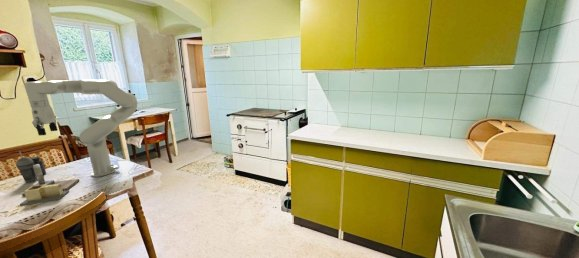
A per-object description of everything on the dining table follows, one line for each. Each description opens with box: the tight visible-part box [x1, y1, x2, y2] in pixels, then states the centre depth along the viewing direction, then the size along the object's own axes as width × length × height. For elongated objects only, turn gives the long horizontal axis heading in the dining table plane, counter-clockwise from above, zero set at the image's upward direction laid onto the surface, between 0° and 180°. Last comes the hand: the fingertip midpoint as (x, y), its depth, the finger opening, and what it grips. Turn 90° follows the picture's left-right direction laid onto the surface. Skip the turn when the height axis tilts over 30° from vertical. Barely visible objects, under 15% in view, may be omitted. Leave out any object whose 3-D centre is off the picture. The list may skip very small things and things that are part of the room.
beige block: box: [23, 184, 64, 202], centre depth 122 cm, size 13×6×6 cm, turn 106°
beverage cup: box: [15, 150, 37, 184], centre depth 140 cm, size 7×7×20 cm
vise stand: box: [21, 164, 80, 197], centre depth 132 cm, size 20×12×15 cm, turn 106°
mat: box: [19, 190, 70, 206], centre depth 123 cm, size 16×9×1 cm, turn 106°
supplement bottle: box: [30, 156, 47, 176], centre depth 150 cm, size 7×7×12 cm
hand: (48, 132), depth 136 cm, fingers open, 9 cm apart
